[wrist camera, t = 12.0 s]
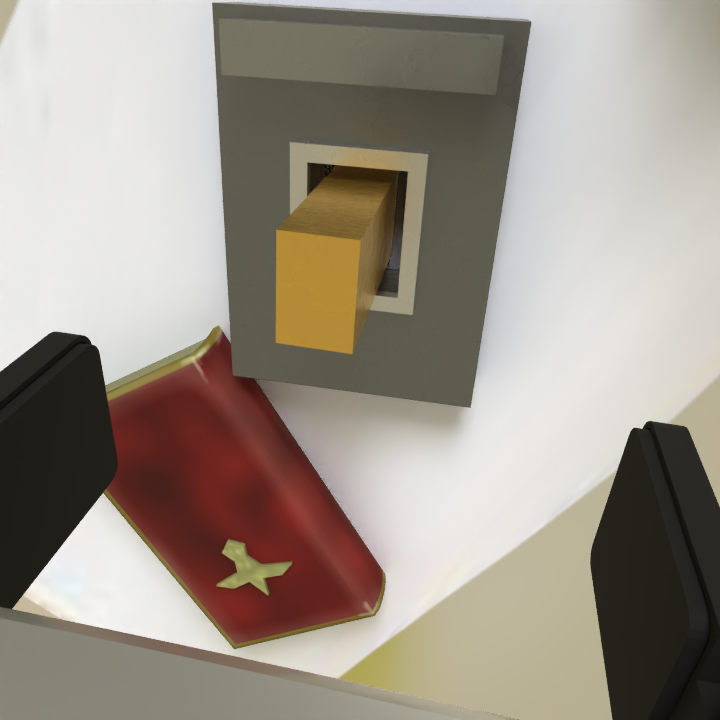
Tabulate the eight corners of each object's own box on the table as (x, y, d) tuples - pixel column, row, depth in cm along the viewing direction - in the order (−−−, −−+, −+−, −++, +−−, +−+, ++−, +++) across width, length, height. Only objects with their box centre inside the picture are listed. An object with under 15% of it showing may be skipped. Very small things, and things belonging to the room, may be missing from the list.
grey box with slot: (236, 2, 30) (193, 2, 25) (527, 19, 28) (534, 23, 24) (250, 349, 39) (219, 394, 34) (472, 378, 37) (469, 429, 33)
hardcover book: (223, 321, 38) (196, 355, 35) (388, 568, 46) (379, 617, 42) (79, 389, 43) (42, 425, 39) (251, 605, 50) (232, 652, 47)
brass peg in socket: (339, 161, 32) (276, 229, 23) (399, 168, 32) (360, 240, 23) (335, 248, 35) (275, 342, 25) (391, 255, 34) (352, 354, 25)
